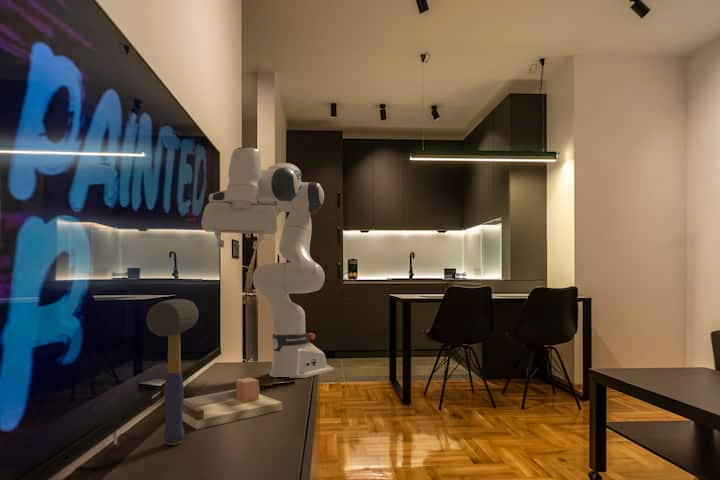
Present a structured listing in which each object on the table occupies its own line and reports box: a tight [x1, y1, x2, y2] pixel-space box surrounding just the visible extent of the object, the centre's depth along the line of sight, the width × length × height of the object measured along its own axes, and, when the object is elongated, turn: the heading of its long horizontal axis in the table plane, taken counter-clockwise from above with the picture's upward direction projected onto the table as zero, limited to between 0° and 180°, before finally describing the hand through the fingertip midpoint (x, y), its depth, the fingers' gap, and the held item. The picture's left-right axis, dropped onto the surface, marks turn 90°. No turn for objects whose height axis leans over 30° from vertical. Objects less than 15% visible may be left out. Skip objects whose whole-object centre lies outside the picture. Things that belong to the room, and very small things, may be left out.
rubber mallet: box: [146, 298, 199, 446], centre depth 102 cm, size 12×8×30 cm, turn 0°
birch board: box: [182, 393, 283, 430], centre depth 122 cm, size 22×14×4 cm, turn 129°
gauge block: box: [235, 377, 260, 402], centre depth 128 cm, size 4×5×5 cm
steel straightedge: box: [183, 389, 236, 406], centre depth 127 cm, size 22×2×2 cm, turn 129°
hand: (238, 247), depth 131 cm, fingers open, 8 cm apart
